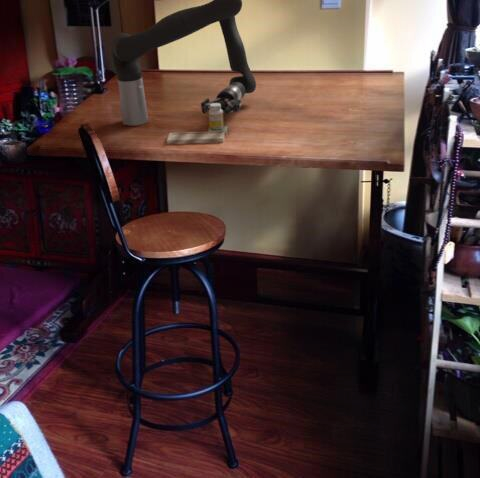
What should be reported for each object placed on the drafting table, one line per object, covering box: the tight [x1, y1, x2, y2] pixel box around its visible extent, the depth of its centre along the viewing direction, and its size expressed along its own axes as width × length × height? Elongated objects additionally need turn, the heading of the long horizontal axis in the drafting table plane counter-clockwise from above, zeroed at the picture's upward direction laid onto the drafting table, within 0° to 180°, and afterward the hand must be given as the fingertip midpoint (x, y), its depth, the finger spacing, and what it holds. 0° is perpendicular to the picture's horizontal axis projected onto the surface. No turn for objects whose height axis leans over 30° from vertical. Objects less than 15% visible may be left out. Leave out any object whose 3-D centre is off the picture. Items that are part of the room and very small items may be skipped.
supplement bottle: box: [208, 103, 225, 132], centre depth 228 cm, size 5×5×10 cm
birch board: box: [166, 131, 226, 145], centre depth 223 cm, size 20×7×2 cm, turn 86°
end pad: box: [207, 125, 229, 135], centre depth 230 cm, size 7×7×1 cm
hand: (214, 111), depth 225 cm, fingers open, 8 cm apart
